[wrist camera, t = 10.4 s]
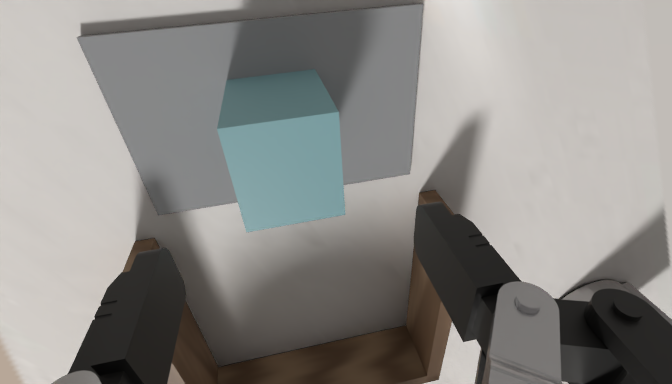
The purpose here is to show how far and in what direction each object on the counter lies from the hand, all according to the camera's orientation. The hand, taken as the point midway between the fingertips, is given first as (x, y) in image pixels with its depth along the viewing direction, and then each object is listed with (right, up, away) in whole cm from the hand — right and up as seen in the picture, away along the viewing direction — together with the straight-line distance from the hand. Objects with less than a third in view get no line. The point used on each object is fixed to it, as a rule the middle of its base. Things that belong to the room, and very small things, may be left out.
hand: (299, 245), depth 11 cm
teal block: (-2, +6, +8) cm, 10 cm away
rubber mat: (-2, +6, +8) cm, 10 cm away
